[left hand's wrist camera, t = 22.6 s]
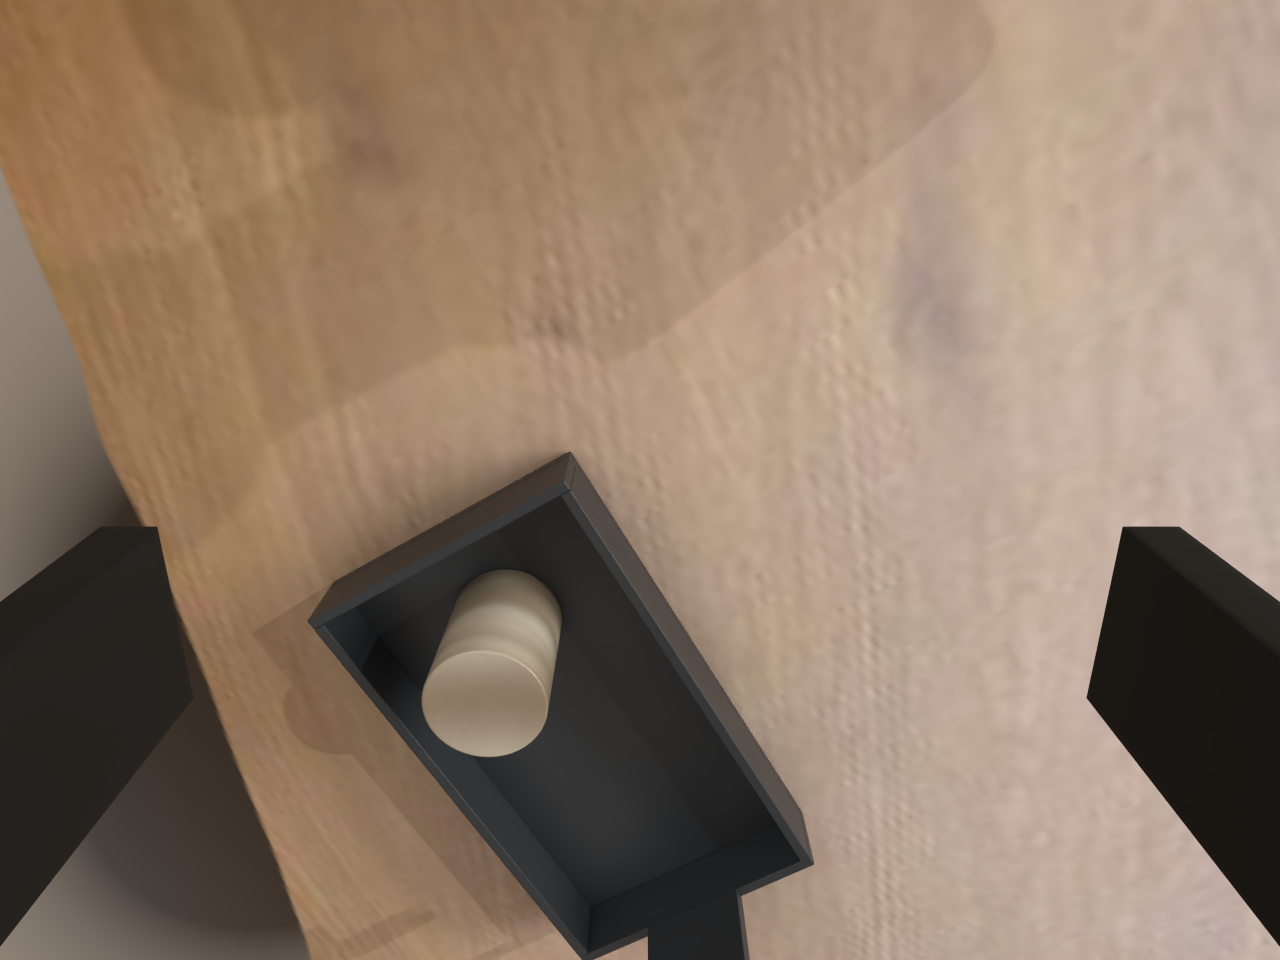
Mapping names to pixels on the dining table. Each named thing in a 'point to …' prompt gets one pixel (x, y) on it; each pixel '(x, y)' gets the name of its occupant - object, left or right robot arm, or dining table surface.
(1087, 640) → the dining table surface
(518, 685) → the cylinder
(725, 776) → the tray
